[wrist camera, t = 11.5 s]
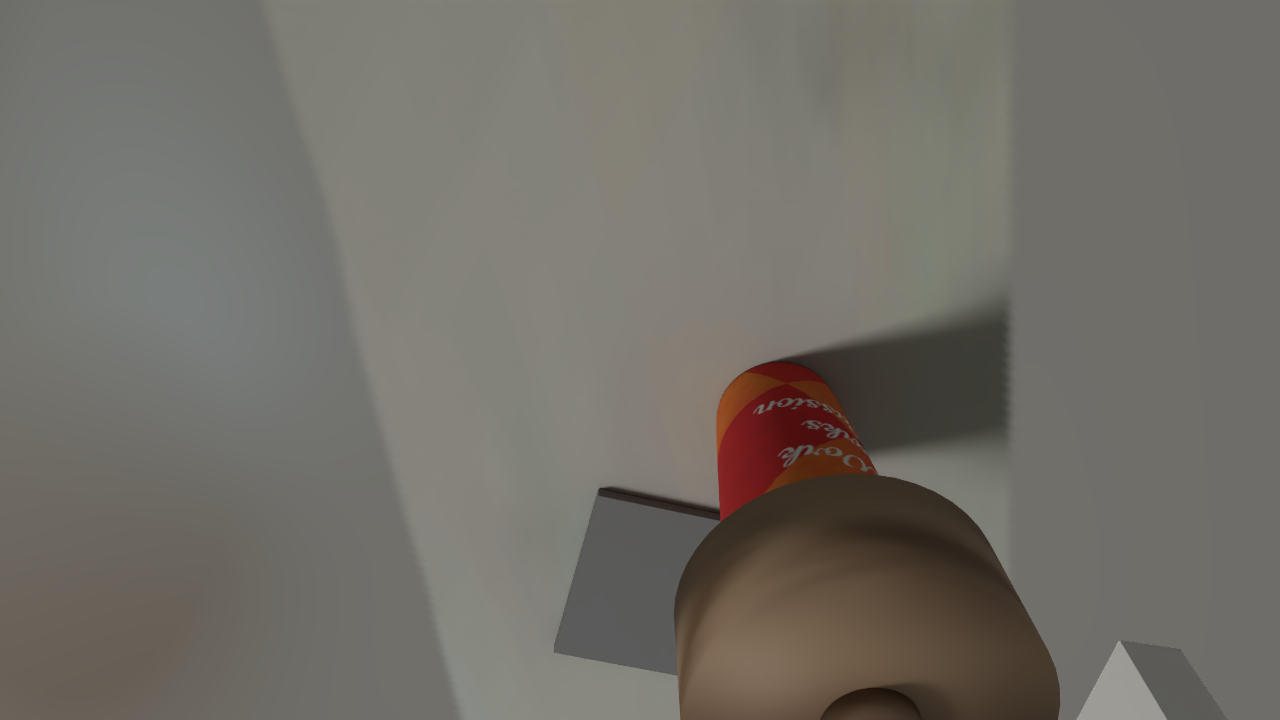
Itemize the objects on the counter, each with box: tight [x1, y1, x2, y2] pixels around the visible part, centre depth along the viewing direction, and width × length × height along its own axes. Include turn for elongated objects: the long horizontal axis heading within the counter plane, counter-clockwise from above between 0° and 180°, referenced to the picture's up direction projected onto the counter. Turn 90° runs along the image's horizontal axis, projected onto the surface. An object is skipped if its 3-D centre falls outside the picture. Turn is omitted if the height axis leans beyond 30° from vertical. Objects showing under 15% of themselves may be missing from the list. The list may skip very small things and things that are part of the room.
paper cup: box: [717, 362, 878, 521], centre depth 40 cm, size 8×8×14 cm
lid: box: [674, 474, 1060, 720], centre depth 31 cm, size 11×11×6 cm
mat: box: [554, 489, 721, 675], centre depth 50 cm, size 10×10×1 cm
